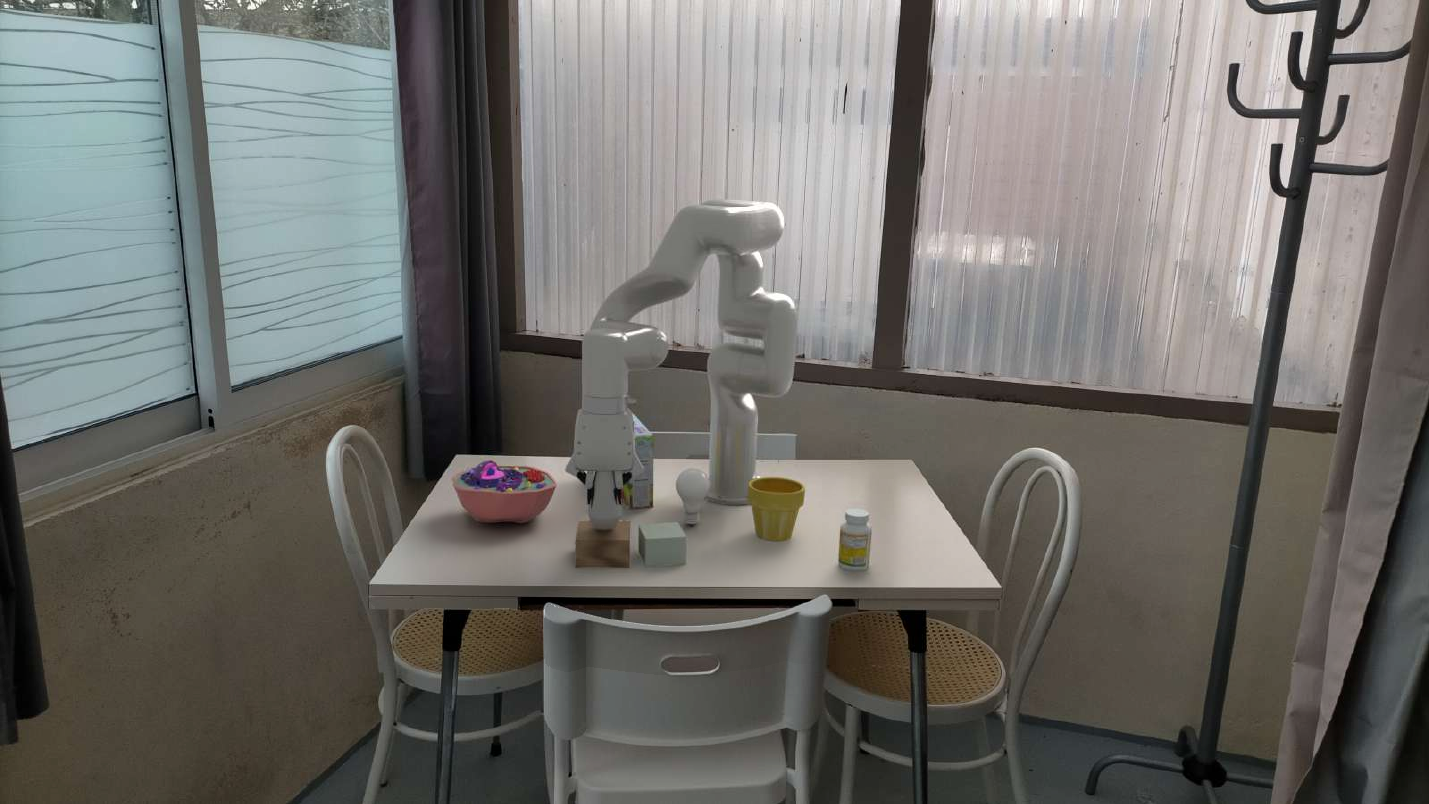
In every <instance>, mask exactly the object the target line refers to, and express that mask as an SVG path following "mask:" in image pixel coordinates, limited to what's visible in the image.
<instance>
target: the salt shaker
mask: <svg viewBox="0 0 1429 804" xmlns="http://www.w3.org/2000/svg"><path fill="white" fill-rule="evenodd" d="M604 468H606V465H604ZM593 482H594V489H595V492H594V499H593V505H592V509H591V501H590V505H588V508H587V516H588V518H589V521H591V522H592V525H593V526H594V528H595V529H602V530H607V529H613V528H615V526H616V524H617V522H618V521H620V519H621V517H622V513H623V511H622V507H621V506H622V504H621V505H620V504H619V502H618V497H617V504H616V501H615V498H614V489H615V488H616V487H615V483H616V482H615V472H614V471H594V478H593Z"/></svg>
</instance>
